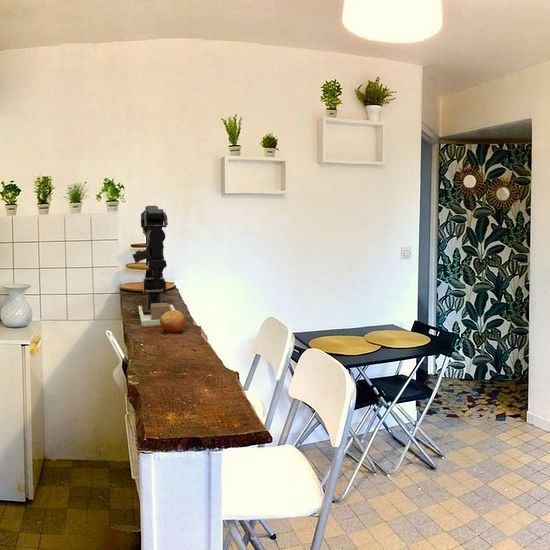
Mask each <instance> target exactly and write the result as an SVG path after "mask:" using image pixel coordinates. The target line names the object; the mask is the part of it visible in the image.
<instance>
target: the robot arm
mask: <svg viewBox="0 0 550 550" xmlns="http://www.w3.org/2000/svg"><path fill="white" fill-rule="evenodd" d="M144 209H145V210H144V211H143V212H141V214H140V228H142V234H143V235H144V236H145V237H146V245H147V246H146V249H143V250H140V249H139V250H137V251H135V252H134V253H133V254H132V258H133V261H134V262H135V264H136V263H140V262H141V261H143V260H145V261H146V264H147V267H148V269H146V272H145V273H144V278H143V283H142V284H143V286H142V288H143V289H142V290H143V291H142V292H143V295H146V305H145V308H151V304H155V303H162V294H166V293H167V281H166V280H165V278H164V276H163V275H164V273H163V272H164V269H165V268H166V267H167V260H165V256H164V248H165V246H164V241H165V239H166V233H165V231H164V230H163V228H167V226H168V215H167V213H166V212H165V211H164V209H162V208H161V209H160V208H159V206H157V205H147V206H145V207H144Z"/></svg>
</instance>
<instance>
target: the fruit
mask: <svg viewBox="0 0 550 550" xmlns="http://www.w3.org/2000/svg"><path fill="white" fill-rule="evenodd" d="M185 323H186V317H185V316H184V313H182V311H180V310H178V309H175V310H173V311H171V310H170V311H168V312H166V313H164V314H163V315H162V316H161V318H160V324H161V325H160V326H161V327H162V328H163V330H164V332H165V333H166V334H167V333H169V334H170V333H172V334H173V333H181V332H183V330H184V328H185V325H186V324H185Z"/></svg>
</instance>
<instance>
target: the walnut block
mask: <svg viewBox="0 0 550 550" xmlns="http://www.w3.org/2000/svg"><path fill="white" fill-rule="evenodd" d="M170 305H171V304H169V302H161V303H155V304H151V307H150V315H151V320H160V318H161V316H162V315H163V314H164V313H166V312H168V311H171V310H170Z"/></svg>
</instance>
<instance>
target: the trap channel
mask: <svg viewBox="0 0 550 550" xmlns="http://www.w3.org/2000/svg"><path fill="white" fill-rule="evenodd" d="M169 305H170V311H173V310H176V308H175V307H174V305H173V304H169ZM138 312H139V317H140V323H141V327H148V326H149V327H150V326H161V324H160V320H151V314H144V312H143V307H142V305H138Z"/></svg>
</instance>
